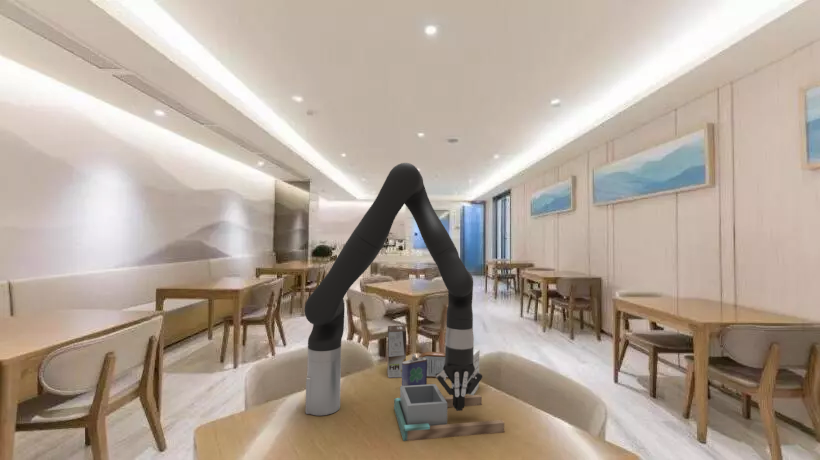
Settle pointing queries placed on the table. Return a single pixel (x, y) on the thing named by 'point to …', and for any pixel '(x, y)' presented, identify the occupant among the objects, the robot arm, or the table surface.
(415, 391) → the grey storage bin
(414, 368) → the flask
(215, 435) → the table surface
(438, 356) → the tin
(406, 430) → the bar
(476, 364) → the supplement box
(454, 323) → the robot arm
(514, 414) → the table surface
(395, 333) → the coffee box
